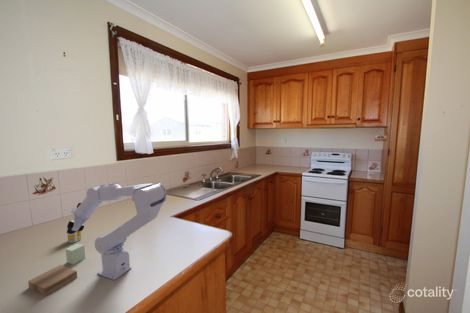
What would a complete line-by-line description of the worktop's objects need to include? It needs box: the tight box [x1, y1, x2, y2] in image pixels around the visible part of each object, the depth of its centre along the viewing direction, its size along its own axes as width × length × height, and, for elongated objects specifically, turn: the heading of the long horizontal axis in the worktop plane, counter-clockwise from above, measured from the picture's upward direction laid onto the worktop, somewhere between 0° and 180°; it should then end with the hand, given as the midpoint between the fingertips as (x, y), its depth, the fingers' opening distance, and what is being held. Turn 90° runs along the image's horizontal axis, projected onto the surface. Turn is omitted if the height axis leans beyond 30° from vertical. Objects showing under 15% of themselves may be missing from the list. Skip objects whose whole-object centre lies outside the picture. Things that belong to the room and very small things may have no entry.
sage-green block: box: [65, 242, 86, 265], centre depth 92 cm, size 4×5×6 cm
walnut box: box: [27, 264, 78, 297], centre depth 79 cm, size 10×10×3 cm
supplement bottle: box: [66, 220, 82, 243], centre depth 109 cm, size 5×5×10 cm
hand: (73, 224), depth 92 cm, fingers open, 7 cm apart
